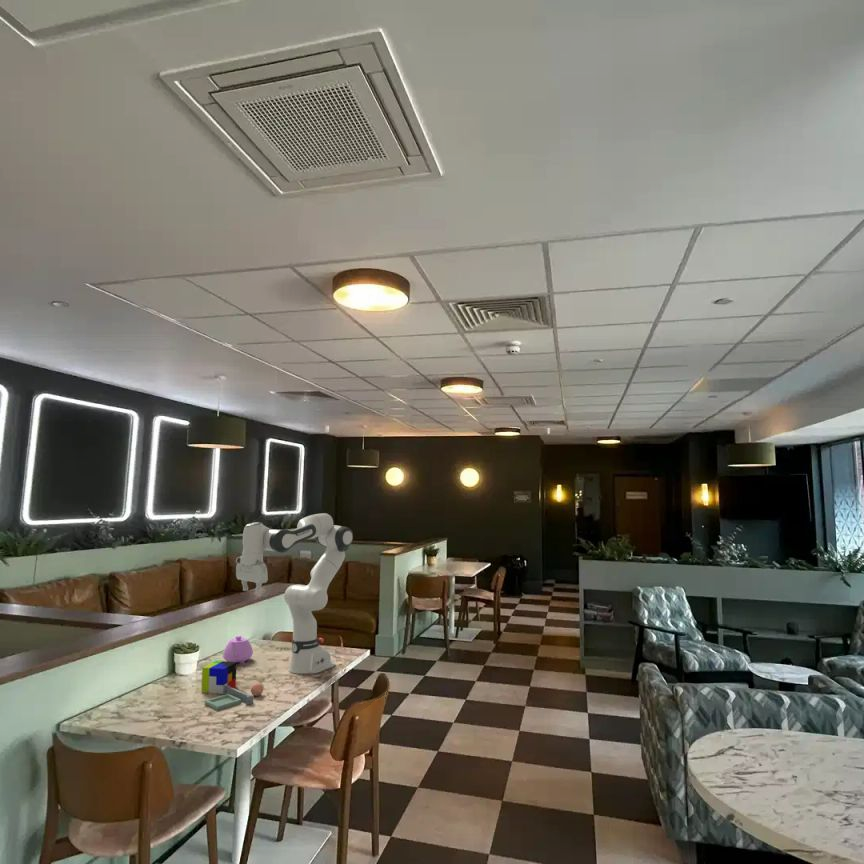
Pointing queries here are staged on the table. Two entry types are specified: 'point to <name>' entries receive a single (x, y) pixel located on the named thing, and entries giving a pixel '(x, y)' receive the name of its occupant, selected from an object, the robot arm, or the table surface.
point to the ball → (257, 689)
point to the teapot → (238, 650)
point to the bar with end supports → (238, 694)
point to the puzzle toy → (218, 676)
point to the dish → (222, 702)
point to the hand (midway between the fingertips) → (251, 591)
